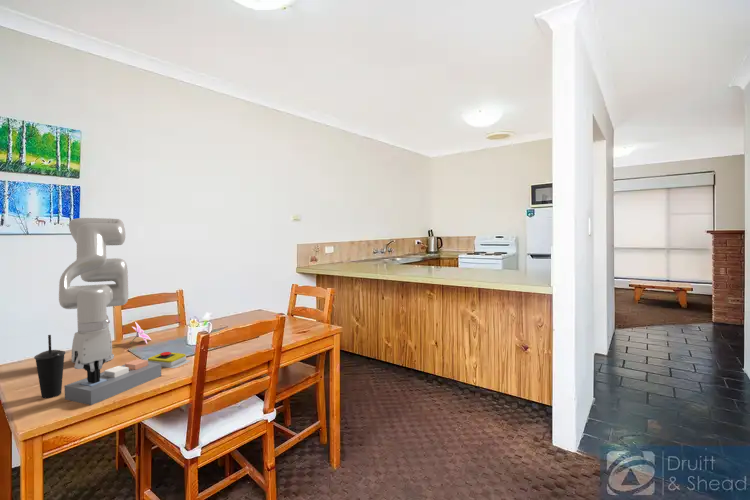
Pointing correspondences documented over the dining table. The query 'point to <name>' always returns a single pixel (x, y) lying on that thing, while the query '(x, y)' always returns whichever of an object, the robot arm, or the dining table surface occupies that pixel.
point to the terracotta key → (136, 364)
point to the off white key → (116, 371)
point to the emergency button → (169, 359)
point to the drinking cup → (50, 371)
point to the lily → (141, 333)
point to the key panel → (111, 385)
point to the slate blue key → (93, 383)
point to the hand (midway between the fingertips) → (94, 381)
